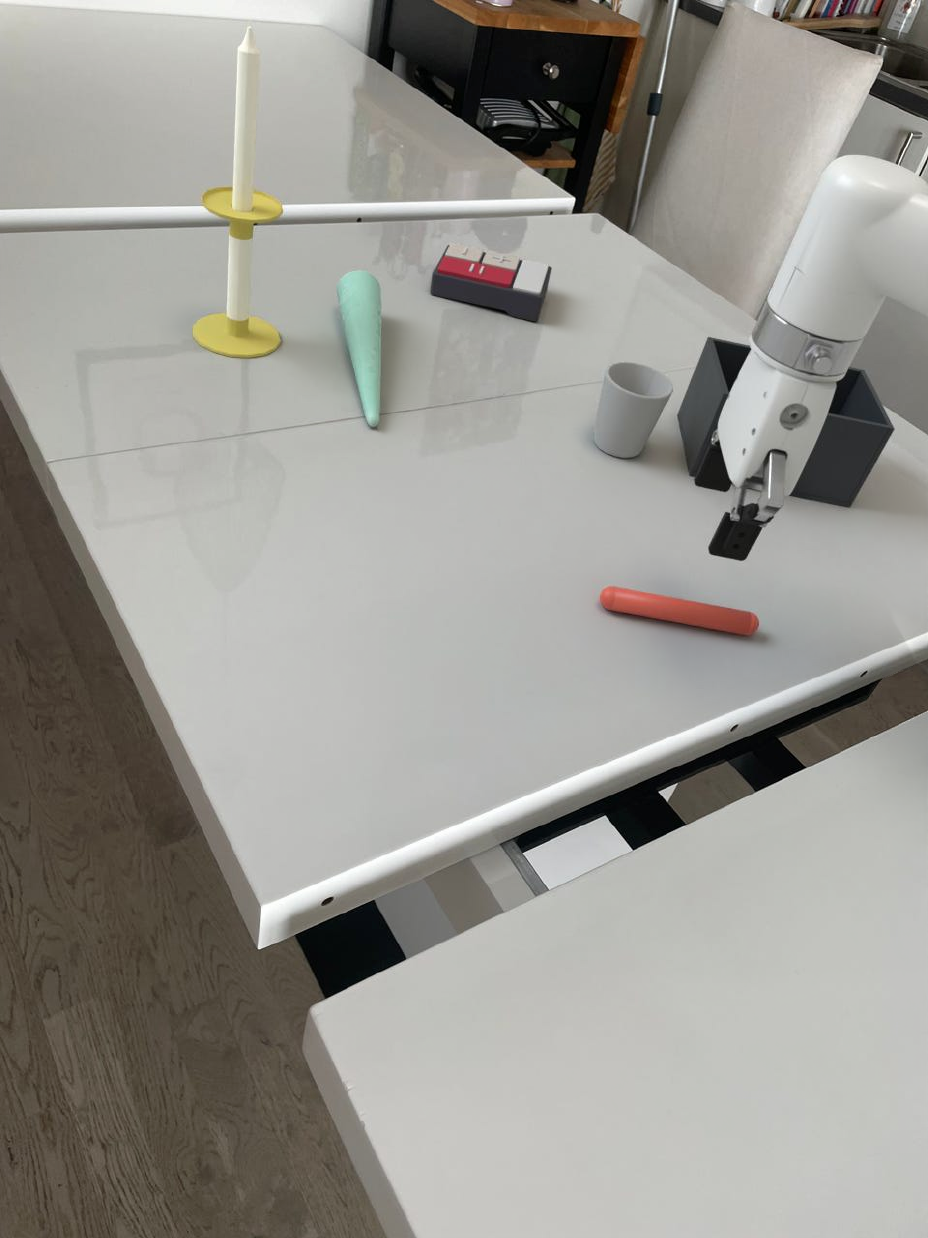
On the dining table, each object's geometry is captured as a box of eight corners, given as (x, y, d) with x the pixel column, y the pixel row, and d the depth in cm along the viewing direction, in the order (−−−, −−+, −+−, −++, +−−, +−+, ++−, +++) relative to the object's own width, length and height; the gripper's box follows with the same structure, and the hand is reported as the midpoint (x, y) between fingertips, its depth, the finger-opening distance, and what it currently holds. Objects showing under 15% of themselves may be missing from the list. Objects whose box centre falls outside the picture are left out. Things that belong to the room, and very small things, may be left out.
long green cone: (353, 382, 101) (339, 267, 120) (347, 427, 104) (334, 309, 123) (405, 387, 102) (383, 272, 121) (397, 432, 106) (377, 314, 125)
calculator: (448, 238, 137) (553, 260, 137) (444, 268, 140) (547, 290, 140) (432, 267, 129) (544, 291, 129) (428, 298, 132) (537, 322, 131)
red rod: (751, 625, 93) (760, 609, 92) (755, 641, 91) (764, 625, 90) (596, 597, 92) (603, 579, 90) (597, 612, 90) (604, 594, 89)
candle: (185, 349, 109) (186, 21, 88) (199, 308, 117) (204, -4, 95) (275, 363, 111) (298, 44, 89) (284, 323, 118) (308, 18, 97)
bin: (825, 445, 122) (864, 369, 115) (850, 507, 112) (895, 428, 105) (676, 415, 121) (707, 336, 113) (689, 475, 111) (724, 393, 104)
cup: (589, 458, 109) (611, 391, 103) (578, 411, 116) (598, 346, 111) (654, 468, 110) (679, 402, 105) (639, 420, 118) (662, 356, 112)
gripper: (882, 409, 67) (777, 594, 78) (827, 299, 79) (743, 472, 91) (778, 386, 66) (687, 576, 77) (739, 278, 79) (665, 455, 90)
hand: (717, 520), depth 84 cm, fingers open, 9 cm apart
